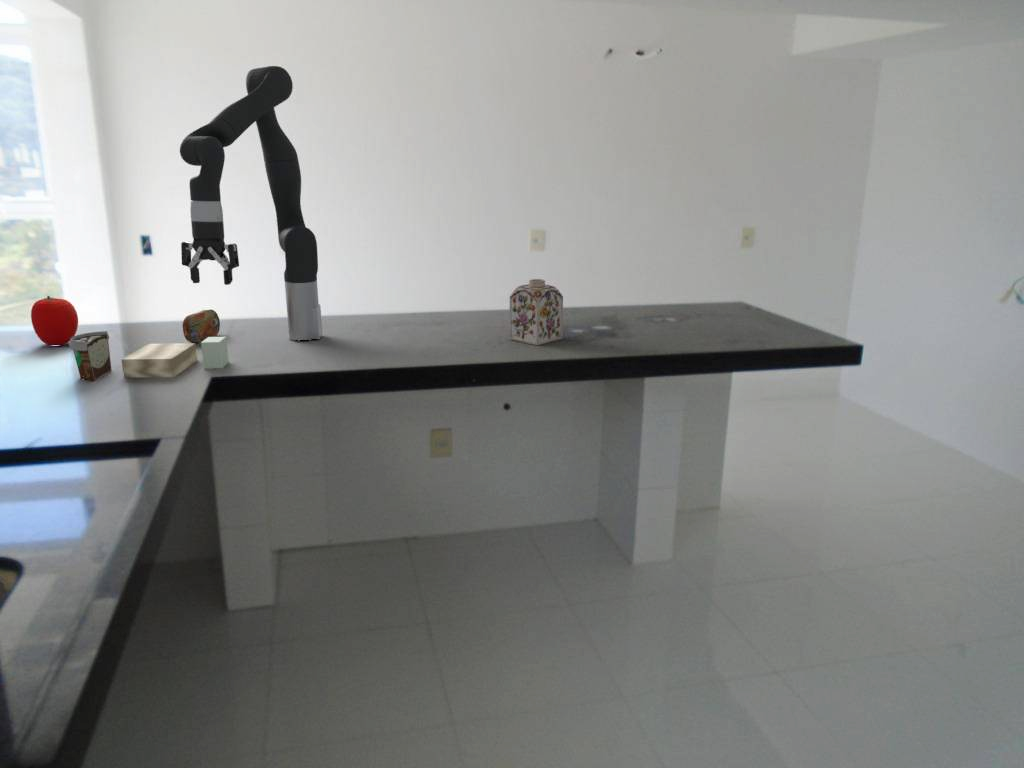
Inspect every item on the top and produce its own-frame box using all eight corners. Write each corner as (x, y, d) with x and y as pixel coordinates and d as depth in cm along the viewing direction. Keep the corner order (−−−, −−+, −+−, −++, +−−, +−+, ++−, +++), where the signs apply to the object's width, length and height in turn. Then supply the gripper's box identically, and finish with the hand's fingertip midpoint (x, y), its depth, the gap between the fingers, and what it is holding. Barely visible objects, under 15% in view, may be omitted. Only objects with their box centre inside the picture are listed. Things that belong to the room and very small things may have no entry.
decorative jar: (563, 339, 221) (564, 279, 216) (537, 346, 213) (538, 284, 208) (533, 333, 229) (534, 275, 224) (507, 339, 221) (508, 279, 215)
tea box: (229, 362, 195) (226, 336, 193) (222, 368, 189) (219, 342, 187) (211, 362, 194) (208, 336, 192) (204, 369, 189) (200, 342, 187)
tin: (192, 345, 212) (188, 317, 210) (182, 345, 213) (178, 316, 210) (222, 334, 226) (219, 307, 224) (212, 333, 227) (209, 306, 224)
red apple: (30, 344, 213) (21, 295, 209) (73, 337, 221) (65, 290, 217) (44, 351, 205) (35, 301, 200) (88, 344, 212) (80, 296, 208)
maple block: (197, 361, 197) (195, 343, 195) (174, 378, 182) (171, 358, 180) (151, 361, 196) (149, 343, 195) (124, 379, 181) (121, 359, 179)
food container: (89, 369, 188) (82, 331, 185) (114, 369, 188) (108, 330, 185) (65, 383, 176) (57, 342, 173) (92, 382, 176) (85, 342, 173)
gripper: (241, 219, 188) (245, 283, 193) (188, 217, 190) (193, 280, 194) (226, 221, 181) (231, 287, 186) (172, 218, 183) (177, 284, 187)
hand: (211, 283), depth 190 cm, fingers open, 8 cm apart
